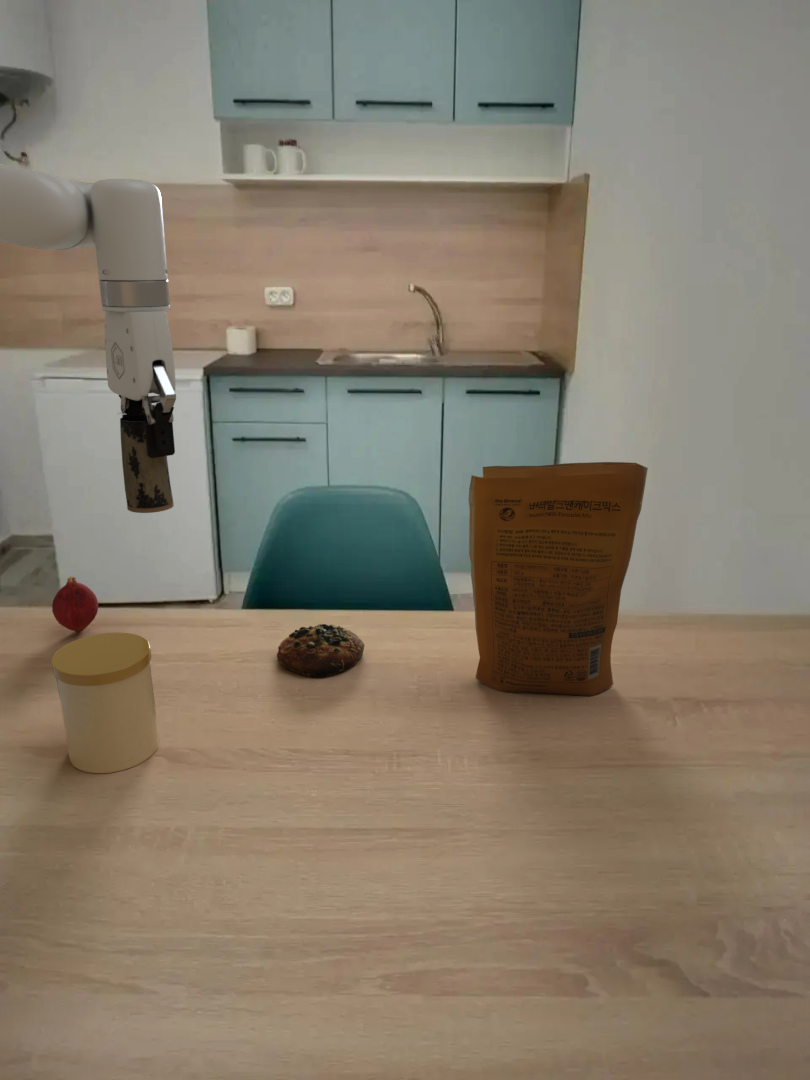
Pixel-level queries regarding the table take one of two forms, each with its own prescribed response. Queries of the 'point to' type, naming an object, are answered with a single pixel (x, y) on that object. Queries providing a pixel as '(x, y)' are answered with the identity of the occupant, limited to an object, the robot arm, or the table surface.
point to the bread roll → (320, 650)
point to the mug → (143, 469)
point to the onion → (75, 605)
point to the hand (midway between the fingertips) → (149, 449)
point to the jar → (107, 701)
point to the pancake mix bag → (551, 571)
